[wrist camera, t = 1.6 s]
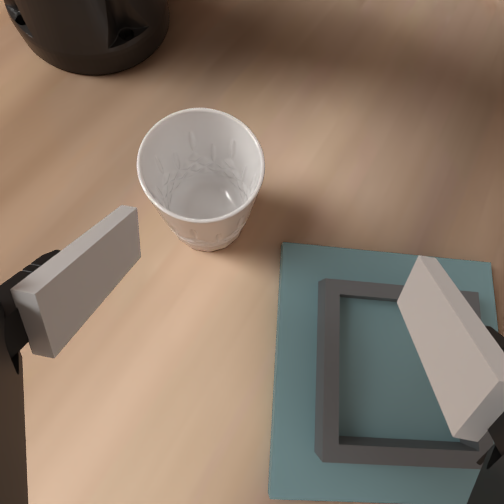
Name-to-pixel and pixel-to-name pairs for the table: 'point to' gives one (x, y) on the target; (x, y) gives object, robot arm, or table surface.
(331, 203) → the table surface
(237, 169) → the white cup
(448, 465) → the glass holder
